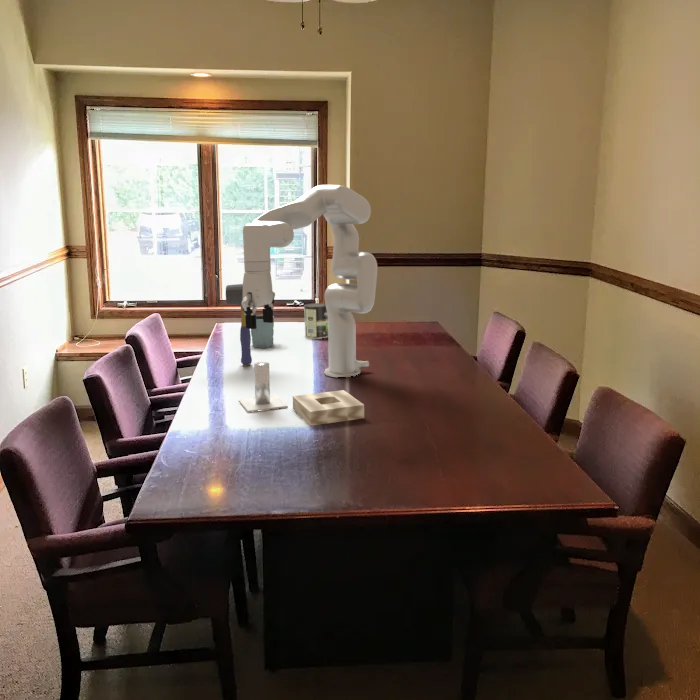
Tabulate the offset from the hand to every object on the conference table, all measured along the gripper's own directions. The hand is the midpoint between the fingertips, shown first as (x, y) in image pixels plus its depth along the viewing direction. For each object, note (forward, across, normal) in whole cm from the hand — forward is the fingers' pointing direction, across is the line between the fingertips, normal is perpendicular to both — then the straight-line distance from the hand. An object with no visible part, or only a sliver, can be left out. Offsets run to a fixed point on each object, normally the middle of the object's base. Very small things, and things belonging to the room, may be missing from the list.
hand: (259, 325), depth 207 cm
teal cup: (+25, -70, -41) cm, 85 cm away
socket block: (+24, +1, +22) cm, 33 cm away
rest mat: (+24, 0, 0) cm, 24 cm away
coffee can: (+25, -94, -27) cm, 101 cm away
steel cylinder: (+24, 0, 0) cm, 24 cm away
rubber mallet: (+24, -39, -30) cm, 55 cm away
